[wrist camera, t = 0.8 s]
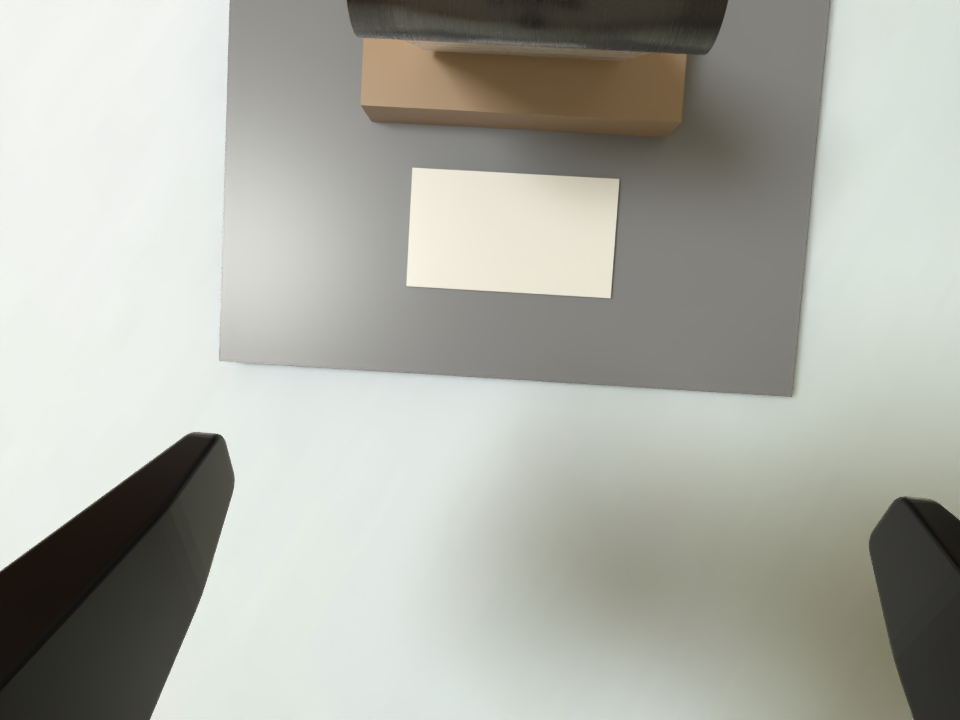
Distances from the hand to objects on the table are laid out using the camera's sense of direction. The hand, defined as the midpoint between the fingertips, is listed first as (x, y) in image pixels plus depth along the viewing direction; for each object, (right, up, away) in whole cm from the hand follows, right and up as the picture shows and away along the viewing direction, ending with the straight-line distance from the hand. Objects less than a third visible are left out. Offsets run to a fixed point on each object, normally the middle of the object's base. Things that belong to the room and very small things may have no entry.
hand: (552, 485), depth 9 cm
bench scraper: (0, +12, +11) cm, 16 cm away
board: (0, +10, +14) cm, 18 cm away
